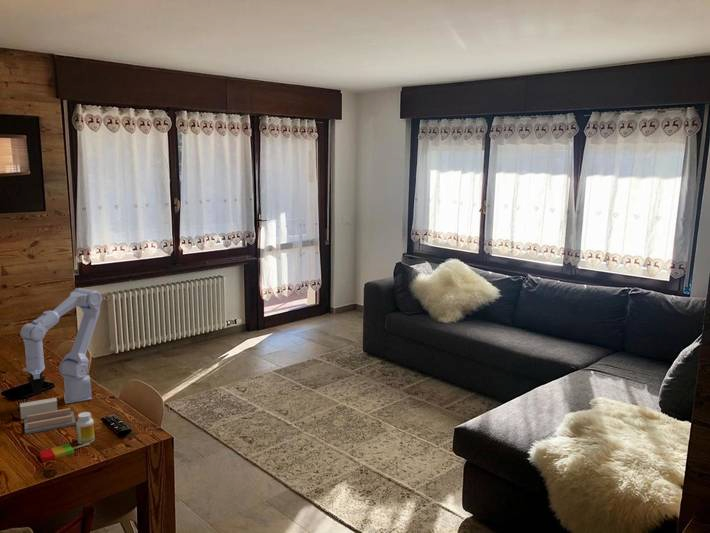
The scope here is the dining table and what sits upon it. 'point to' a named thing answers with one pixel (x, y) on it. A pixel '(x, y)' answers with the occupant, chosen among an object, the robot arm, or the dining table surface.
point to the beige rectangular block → (38, 407)
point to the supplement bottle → (85, 428)
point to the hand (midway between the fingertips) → (37, 390)
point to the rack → (49, 421)
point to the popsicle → (58, 452)
